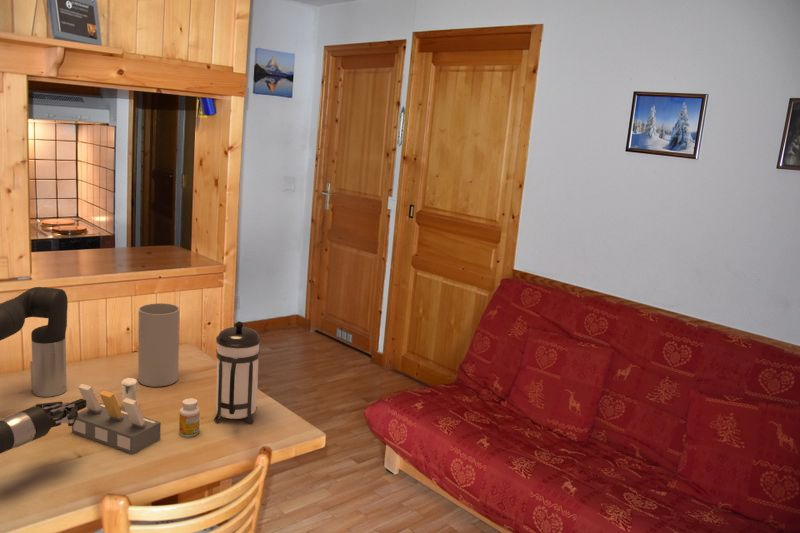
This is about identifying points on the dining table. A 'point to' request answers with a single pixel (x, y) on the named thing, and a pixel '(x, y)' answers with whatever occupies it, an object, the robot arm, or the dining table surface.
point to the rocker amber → (111, 405)
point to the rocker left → (90, 398)
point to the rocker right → (134, 412)
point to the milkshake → (129, 388)
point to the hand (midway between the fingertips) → (84, 402)
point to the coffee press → (237, 373)
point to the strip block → (116, 430)
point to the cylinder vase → (158, 344)
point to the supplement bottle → (189, 418)
